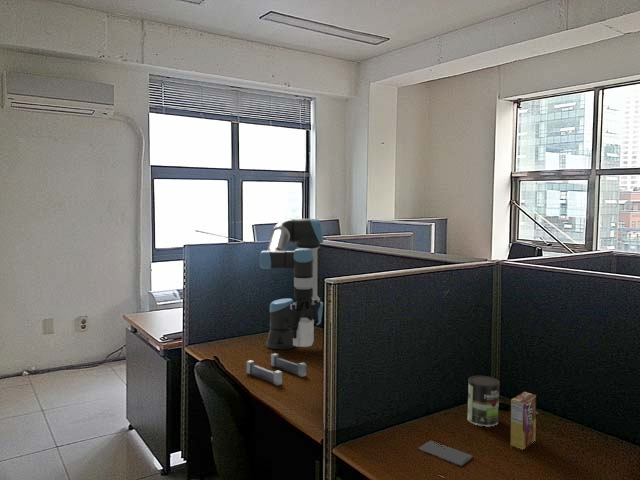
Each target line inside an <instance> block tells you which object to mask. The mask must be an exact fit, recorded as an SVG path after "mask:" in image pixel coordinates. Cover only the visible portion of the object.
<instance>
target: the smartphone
mask: <svg viewBox="0 0 640 480" xmlns="http://www.w3.org/2000/svg"><path fill="white" fill-rule="evenodd" d="M428 441H429V442H428ZM428 441H426V442H425V443H423V444H424V445H423V444H422V445H420V446H421V447H420V446H419V447H418V448H419V449H420V450H422V451H424V452H427V453H430V454H432V455H436V456H438V457H440V458H443V459H445V460H447V461H449V462H451V463H450V464H452V463H454V464H457V465H459V466H461V465H464V464H465V463H466V462H467V461H469V460H470V459H471V458H472V457H473V455H472V454H469V453H467V452H465V451H461V450H458V449H455V448H453V447H450V446H448V447H447V445H444V444H442V445H440V444H441V443H440V442H436V441H433V440H428ZM434 442H435V443H434ZM436 443H437V444H436ZM438 444H439V445H438ZM438 446H439V447H438ZM441 446H442V447H441ZM444 448H445V449H444ZM424 452H423V453H424ZM473 458H474V457H473ZM470 461H471V460H470ZM470 461H469V462H470ZM449 462H448V463H449ZM454 464H453V465H454ZM466 464H467V463H466ZM466 464H465V465H466ZM457 465H456V466H457ZM465 465H464V466H465ZM459 466H458V467H459Z"/></svg>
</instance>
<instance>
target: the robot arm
mask: <svg viewBox="0 0 640 480" xmlns="http://www.w3.org/2000/svg"><path fill="white" fill-rule="evenodd" d="M269 239H270V240H269V242H268V246H267V250H261V251H260V253H259V266H260V268H261V269H262V270H263V269H264V270H265V269H267V270H283V269H284V270H293V287H294V288H293V296H294V300H293V298H280V299H279V298H278V299H275V300H272V301H271V302H270V304H269V333H268V336H267V339H266V347H267V348H268V349H271V350H272V349H273V350H291V349H293V348H295V347H297V348H298V347H300V346H299V330H297V329H298V325H299V322H300V318H308V319H309V320H312V319H313V320H314V329H313V343H314V342H315V333H316V332H315V331H316V328H315V327H317V326H318V325H320V324H321V322H322V317H323V309H324V308H323V307H324V302H322V301H321V297H319V296H318V249H320V247H321V244H323V243H324V237H323V228H322V223H321V220H319V219H317V218H287V219H284V220H281V221H280V222H278V223H276V224H275V225H273V227H272V228H271V230H270V232H269ZM290 243H291V244H294V243H295V244H296V248H295V249H294V250H286V248H287V245H288V244H290Z"/></svg>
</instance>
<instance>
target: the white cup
mask: <svg viewBox="0 0 640 480" xmlns="http://www.w3.org/2000/svg"><path fill="white" fill-rule="evenodd" d="M313 329H314V320H313V319H312V320H309V319H308V318H300V322H299V325H298V329H297V330H299V347H301V348H302V347H303V348H305V347H306V348H307V347H311V346H312V345H314V344H313V343H314V342H313Z"/></svg>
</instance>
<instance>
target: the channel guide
mask: <svg viewBox="0 0 640 480" xmlns="http://www.w3.org/2000/svg"><path fill="white" fill-rule="evenodd" d="M270 366H271V367H274V368H278V370H275V371H273V370H270V369H268V368H265V367H262V366H260V365H256V364H255V361H254V360H251V359H249V360H246V374H248V375H252V376H254V377H257V378H260V379H262V380H263V381H264V380H265V381H267V382H270V383H272V384H274V385H275V386H280V385H282V384H283V371H281V370H284V371H286V372H289V373H291V374H293V375H297V376H298V377H301V378H304V377H307V363H305V362H299V363H295V362H293V361H291V360H290V361H289V360H287V359H284V358H281V357H279V353H275V352H274V353H271V354H270ZM279 369H280V370H279Z"/></svg>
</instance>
